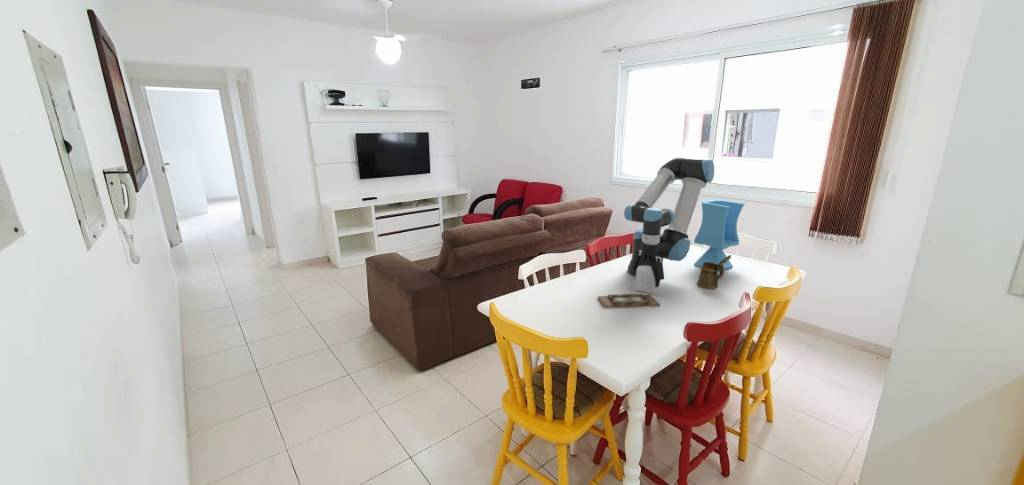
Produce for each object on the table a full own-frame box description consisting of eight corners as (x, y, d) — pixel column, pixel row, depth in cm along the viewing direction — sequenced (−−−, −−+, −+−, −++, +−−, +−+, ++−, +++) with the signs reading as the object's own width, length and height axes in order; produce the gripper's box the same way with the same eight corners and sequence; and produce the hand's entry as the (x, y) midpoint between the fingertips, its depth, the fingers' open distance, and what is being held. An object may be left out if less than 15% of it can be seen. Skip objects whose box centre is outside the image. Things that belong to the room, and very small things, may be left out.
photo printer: (658, 291, 186) (660, 266, 183) (656, 294, 183) (659, 269, 179) (635, 287, 191) (637, 263, 188) (633, 290, 188) (635, 265, 184)
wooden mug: (720, 294, 183) (726, 256, 178) (692, 285, 193) (697, 249, 188) (730, 290, 188) (736, 253, 183) (703, 281, 198) (707, 246, 193)
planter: (718, 273, 208) (728, 207, 199) (691, 265, 221) (699, 202, 211) (735, 267, 217) (744, 203, 207) (707, 260, 229) (715, 199, 219)
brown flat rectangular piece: (604, 308, 170) (604, 301, 170) (597, 298, 180) (598, 292, 179) (659, 306, 171) (660, 300, 171) (650, 296, 181) (651, 290, 180)
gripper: (626, 238, 188) (623, 282, 195) (664, 250, 169) (659, 299, 176) (638, 235, 192) (634, 279, 198) (676, 247, 173) (671, 295, 179)
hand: (646, 288), depth 187 cm, fingers closed on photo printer, 10 cm apart
